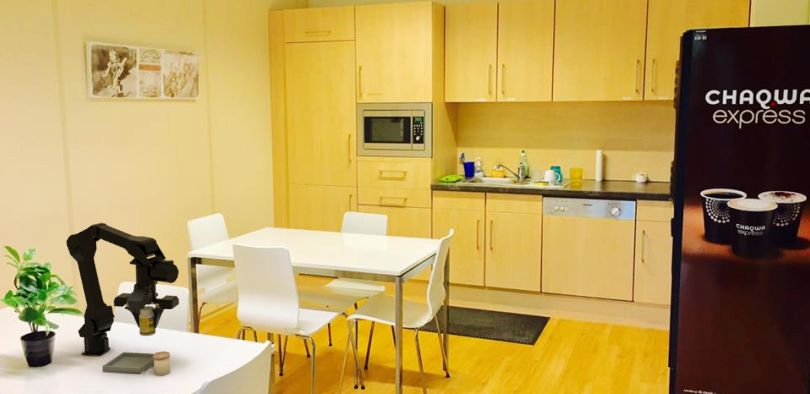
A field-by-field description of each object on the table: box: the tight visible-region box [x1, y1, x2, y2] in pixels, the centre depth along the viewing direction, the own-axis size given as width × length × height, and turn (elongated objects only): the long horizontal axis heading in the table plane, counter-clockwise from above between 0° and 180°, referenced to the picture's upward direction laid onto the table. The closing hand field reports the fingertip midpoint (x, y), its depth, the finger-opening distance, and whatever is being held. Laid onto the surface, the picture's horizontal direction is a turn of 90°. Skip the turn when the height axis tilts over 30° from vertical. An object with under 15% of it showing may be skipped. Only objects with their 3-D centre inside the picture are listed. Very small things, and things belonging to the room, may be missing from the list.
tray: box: [102, 351, 154, 375], centre depth 218 cm, size 12×12×2 cm
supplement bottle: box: [138, 305, 157, 337], centre depth 220 cm, size 5×5×8 cm
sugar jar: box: [152, 350, 171, 376], centre depth 212 cm, size 5×5×6 cm
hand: (147, 327), depth 220 cm, fingers closed on supplement bottle, 5 cm apart
